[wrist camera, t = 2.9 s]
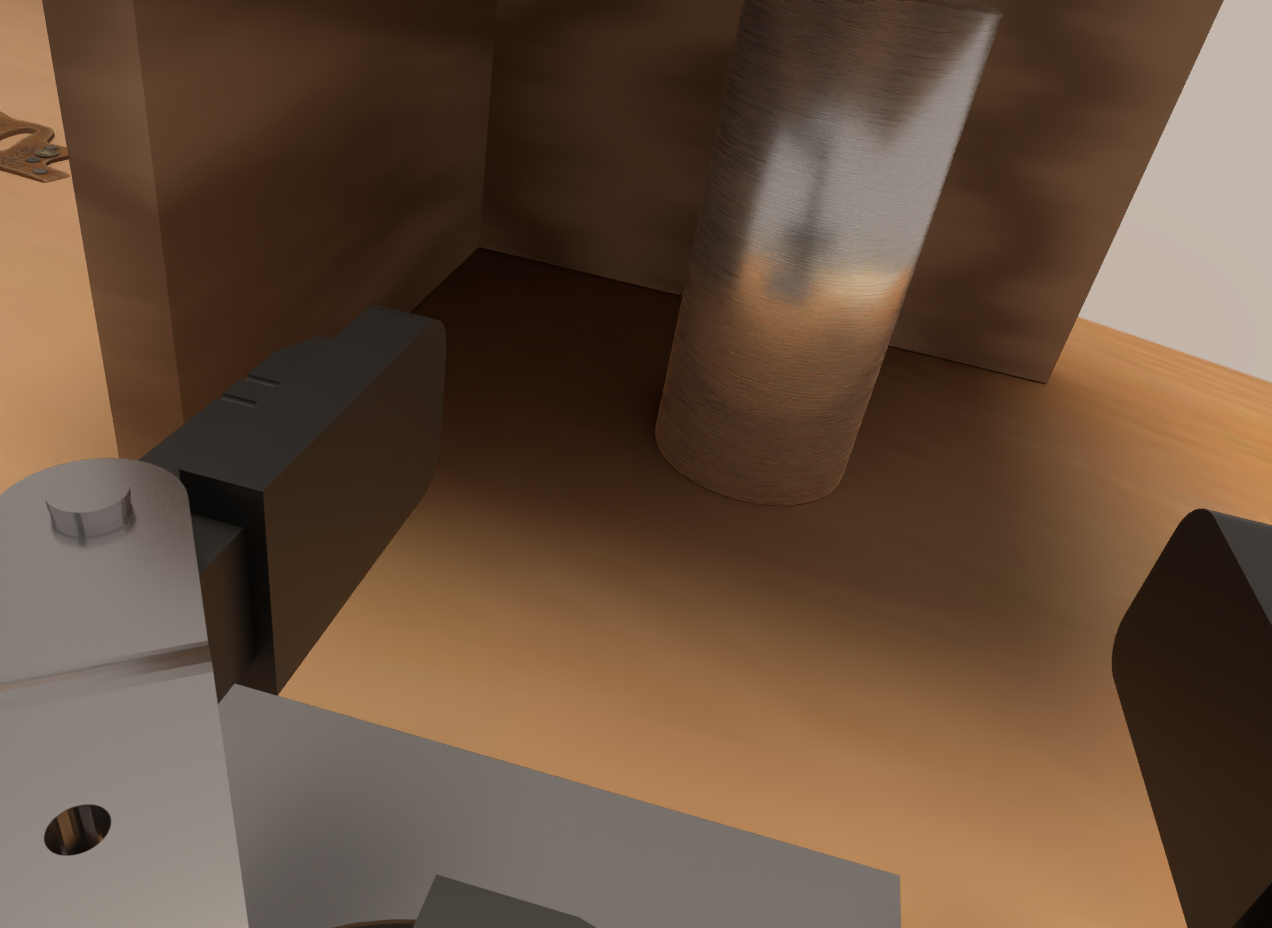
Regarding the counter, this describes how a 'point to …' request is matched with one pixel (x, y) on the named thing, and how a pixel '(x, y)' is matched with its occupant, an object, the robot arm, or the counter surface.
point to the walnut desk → (536, 166)
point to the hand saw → (31, 151)
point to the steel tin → (812, 233)
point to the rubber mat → (495, 837)
